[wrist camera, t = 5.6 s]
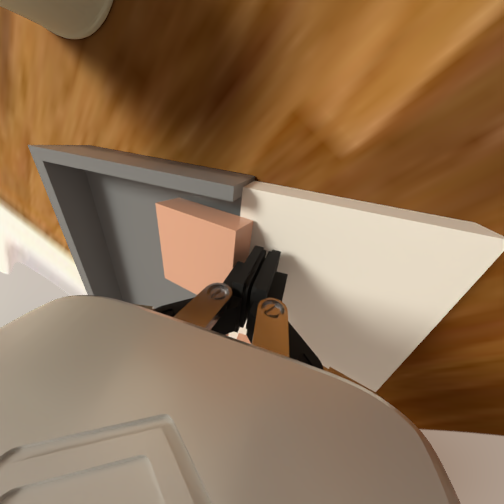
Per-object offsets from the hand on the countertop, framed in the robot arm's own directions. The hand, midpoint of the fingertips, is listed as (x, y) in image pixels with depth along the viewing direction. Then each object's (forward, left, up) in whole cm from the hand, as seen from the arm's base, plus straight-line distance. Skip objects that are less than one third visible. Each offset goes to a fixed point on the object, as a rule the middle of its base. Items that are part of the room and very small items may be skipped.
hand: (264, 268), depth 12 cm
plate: (+5, +4, -3) cm, 8 cm away
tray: (+5, -9, -3) cm, 11 cm away
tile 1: (0, -4, -1) cm, 4 cm away
